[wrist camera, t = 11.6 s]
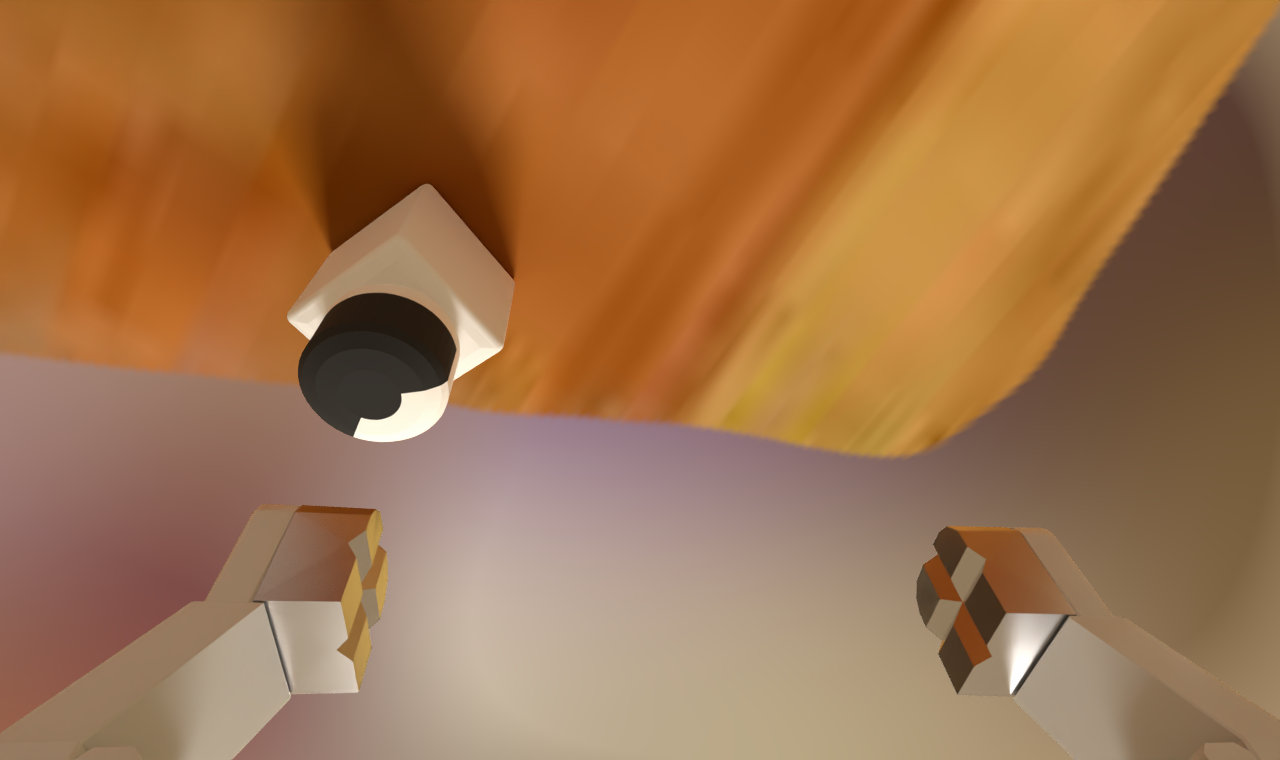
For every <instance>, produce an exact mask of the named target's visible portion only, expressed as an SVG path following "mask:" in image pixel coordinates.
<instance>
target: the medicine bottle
mask: <svg viewBox="0 0 1280 760" xmlns="http://www.w3.org/2000/svg"><path fill="white" fill-rule="evenodd" d="M514 286H515V283H514V281H513V279H512V278H511V277H510V275H509V274H508V273H507V272H506V271H505V270H504V268H503V267H502V266H501V265H500V264H499V263H498V261H497V260H496V259H495V258H494V257H493V256H492V255H491V253H490V252H489V251H488V250H487V249H486V248H485V246H484V245H483V244H482V243H481V242H480V241H479V239H478V238H477V237H476V236H475V235H474V234H473V232H472V231H471V230H470V229H469V228H468V227H467V225H466V224H465V223H464V222H463V221H462V220H461V219H460V217H459V216H458V215H457V214H456V213H455V212H454V210H453V209H452V208H451V207H450V206H449V205H448V203H447V202H446V201H445V200H444V199H443V198H442V196H441V195H440V194H439V193H438V192H437V191H436V189H435V188H434V187H433V186H432V185H430V184H424V185H421V186H420V187H419V188H417V189H416V190H415V191H413V192H412V193H411V194H409V195H408V196H407V197H405V198H404V199H403V200H401V201H400V202H398V203H397V204H396V205H394V206H393V207H392V208H390V209H389V210H388V211H386V212H385V213H384V214H382V215H381V216H380V217H378V218H377V219H376V220H374V221H373V222H372V223H370V224H369V225H367V226H366V227H365V228H363V229H362V230H361V231H359V232H358V233H357V234H355V235H354V236H353V237H351V238H350V239H349V240H347V241H346V242H345V243H343V244H342V245H341V246H339V247H338V248H336V249H335V250H334V251H332V252H331V253H330V255H329V256H328V258H327V259H326V260H325V262H324V263H323V265H322V266H321V267H320V269H319V270H318V272H317V273H316V274H315V276H314V277H313V279H312V280H311V281H310V283H309V284H308V286H307V287H306V288H305V290H304V291H303V293H302V294H301V295H300V297H299V298H298V300H297V301H296V302H295V304H294V305H293V307H292V308H291V309H290V311H289V312H288V314H287V319H288V320H289V322H290V323H291V324H292V325H293V326H295V327H296V328H297V329H298V330H299V331H300V332H301V333H302V334H304V335H305V336H306V337H307V338H308V339H309V340H310V341H309V343H308V344H307V346H306V347H305V349H304V351H303V352H302V355H301V358H300V360H299V366H298V378H299V384H300V387H301V390H302V393H303V395H304V397H305V398H306V400H307V402H308V403H309V405H310V406H311V407H312V409H313V410H314V411H315V412H316V413H317V414H318V415H319V416H320V417H321V418H322V419H323V420H324V421H326V422H327V423H328V424H329V425H331V426H333V427H334V428H335V429H337V430H339V431H341V432H343V433H345V434H347V435H350V436H352V437H356V438H359V439H363V440H369V441H377V442H391V441H399V440H404V439H408V438H411V437H414V436H416V435H419V434H421V433H423V432H425V431H426V430H428V429H429V428H430V427H432V426H433V425H434V424H435V423H436V422H437V421H438V420H439V418H440V417H441V415H442V414H443V412H444V410H445V408H446V405H447V402H448V398H449V395H450V391H451V387H452V384H453V380H455V379H457V378H458V377H460V376H461V375H463V374H464V373H466V372H468V371H469V370H471V369H472V368H474V367H475V366H477V365H479V364H480V363H482V362H483V361H485V360H486V359H488V358H490V357H491V356H493V355H494V354H496V353H497V352H499V351H500V350H501V349H502V348H503V346H504V341H505V335H506V330H507V324H508V319H509V314H510V308H511V303H512V297H513V292H514Z"/></svg>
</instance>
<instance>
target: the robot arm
mask: <svg viewBox="0 0 1280 760" xmlns="http://www.w3.org/2000/svg"><path fill="white" fill-rule="evenodd" d="M382 531H383V525H382V519H381V514H380V511H378V510H376V509H363V508H345V507H326V506H308V505H302V506H294V505H276V504H262V505H261V506H260V507H259V508H257V509H256V510H255V511H254V512H253V513H252V515H251V517H250V519H249V521H248V523H247V524H246V526H245V528H244V530H243V532H242V534H241V536H240V538H239V539H238V541H237V543H236V545H235V546H234V548H233V550H232V552H231V554H230V556H229V558H228V559H227V561H226V563H225V565H224V567H223V568H222V570H221V572H220V574H219V576H218V578H217V579H216V581H215V583H214V585H213V587H212V589H211V590H210V592H209V594H208V596H207V598H206V600H205V601H204V602H191V603H189V604H188V605H186V606H185V607H184V608H182V609H181V610H179V611H178V612H176V613H175V614H173V615H172V616H170V617H169V618H167V619H166V620H164V621H163V622H162V623H160V624H159V625H157V626H156V627H154V628H153V629H151V630H150V631H149V632H147V633H146V634H144V635H143V636H141V637H140V638H138V639H137V640H135V641H134V642H132V643H131V644H129V645H128V646H127V647H125V648H124V649H122V650H121V651H119V652H118V653H116V654H115V655H114V656H112V657H111V658H109V659H108V660H106V661H105V662H103V663H102V664H100V665H99V666H98V667H96V668H95V669H93V670H92V671H90V672H89V673H87V674H86V675H84V676H83V677H81V678H80V679H78V680H77V681H76V682H74V683H73V684H71V685H70V686H68V687H67V688H65V689H64V690H63V691H61V692H60V693H58V694H57V695H55V696H54V697H52V698H51V699H49V700H48V701H47V702H45V703H44V704H42V705H41V706H39V707H38V708H36V709H35V710H33V711H32V712H30V713H29V714H27V715H26V716H25V717H23V718H22V719H20V720H19V721H17V722H16V723H14V724H13V725H12V726H10V727H9V728H7V729H6V730H4V731H3V732H1V733H0V760H232V759H233V758H234V757H235V756H236V755H237V754H238V753H239V752H240V751H241V750H242V749H243V747H245V745H246V744H247V743H248V742H249V741H250V740H251V739H252V738H253V737H254V736H255V735H256V734H257V733H258V732H259V731H260V730H261V729H262V728H263V727H264V726H265V725H266V724H267V722H269V720H270V719H271V718H272V717H273V716H274V715H275V714H276V713H277V712H278V711H279V710H280V709H281V708H282V707H283V706H284V705H285V704H286V703H287V702H288V701H289V700H290V699H291V696H290V694H314V693H315V694H316V693H357V692H359V690H360V686H361V683H362V679H363V676H364V673H365V669H366V666H367V662H368V659H369V655H370V652H371V648H372V647H371V640H370V634H369V629H370V628H371V627H372V626H373V625H374V624H375V623H376V622H378V621H379V620H380V617H381V613H382V609H383V606H384V602H385V596H386V589H387V582H388V562H387V553H386V551H385V550H384V549H383V548H382V547H380V546H379V545H378V544H379V540H380V538H381V535H382ZM933 545H934V548H935V550H936V552H937V554H938V555H937V556H935V557H934V558H932V559H931V560H929V561H928V562H927V563H925V564H924V565H923V567H922V569H921V572H920V574H919V577H918V579H917V590H916V599H917V604H918V608H919V613H920V615H921V617H922V619H923V622H924V624H925V626H926V628H927V629H929V630H930V631H931V632H932V633H933V634H935V635H936V636H937V637H938V638H939V639H941V640H942V642H941V646H940V649H939V653H938V655H939V657H940V659H941V661H942V663H943V665H944V667H945V669H946V672H947V674H948V676H949V678H950V680H951V682H952V684H953V686H954V689H955V691H956V693H957V694H958V695H978V696H1008V697H1010V696H1011V697H1014V699H1013V700H1014V701H1015V702H1016V703H1017V704H1018V705H1019V706H1020V707H1021V708H1022V709H1023V710H1024V711H1025V712H1026V713H1027V714H1028V715H1029V716H1030V717H1031V718H1032V719H1033V720H1034V721H1035V722H1036V723H1037V724H1038V725H1039V726H1040V727H1042V728H1043V730H1045V731H1046V732H1047V733H1048V734H1049V735H1050V736H1051V737H1052V738H1053V739H1054V740H1055V741H1056V742H1057V743H1058V744H1059V745H1060V746H1061V747H1062V748H1063V749H1064V750H1065V751H1066V752H1067V753H1068V754H1069V755H1070V756H1071V757H1072V758H1073V759H1074V760H1280V720H1279V719H1277V718H1276V717H1274V716H1273V715H1271V714H1270V713H1268V712H1267V711H1265V710H1264V709H1262V708H1261V707H1259V706H1257V705H1256V704H1255V703H1253V702H1252V701H1250V700H1248V699H1247V698H1246V697H1244V696H1243V695H1241V694H1239V693H1238V692H1236V691H1235V690H1233V689H1232V688H1230V687H1229V686H1227V685H1226V684H1224V683H1223V682H1221V681H1220V680H1218V679H1217V678H1215V677H1214V676H1212V675H1210V674H1209V673H1208V672H1206V671H1204V670H1203V669H1202V668H1200V667H1198V666H1197V665H1196V664H1194V663H1193V662H1191V661H1190V660H1188V659H1187V658H1185V657H1184V656H1182V655H1181V654H1179V653H1177V652H1176V651H1174V650H1173V649H1171V648H1170V647H1168V646H1167V645H1165V644H1164V643H1162V642H1161V641H1159V640H1158V639H1156V638H1155V637H1153V636H1152V635H1150V634H1149V633H1147V632H1146V631H1144V630H1143V629H1141V628H1140V627H1138V626H1136V625H1135V624H1134V623H1132V622H1130V621H1129V620H1128V619H1126V618H1124V617H1114V616H1113V615H1112V613H1111V612H1110V611H1109V609H1108V608H1107V606H1106V605H1105V604H1104V603H1103V601H1102V600H1101V598H1100V597H1099V596H1098V594H1097V593H1096V592H1095V590H1094V589H1093V588H1092V586H1091V585H1090V583H1089V582H1088V581H1087V579H1086V578H1085V577H1084V575H1083V574H1082V573H1081V571H1080V570H1079V568H1078V567H1077V566H1076V564H1075V563H1074V562H1073V560H1072V559H1071V558H1070V556H1069V555H1068V553H1067V552H1066V551H1065V549H1064V548H1063V547H1062V546H1061V544H1060V543H1059V541H1058V540H1057V538H1056V537H1055V536H1054V535H1053V534H1052V533H1051V532H1049V531H1048V530H1046V529H1045V528H1014V527H1013V528H1006V527H963V526H962V527H961V526H960V527H959V526H946V527H945V528H944V529H943V530H941V531H940V532H939V533H938V535H937V537H936V539H935V541H934V543H933Z"/></svg>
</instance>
